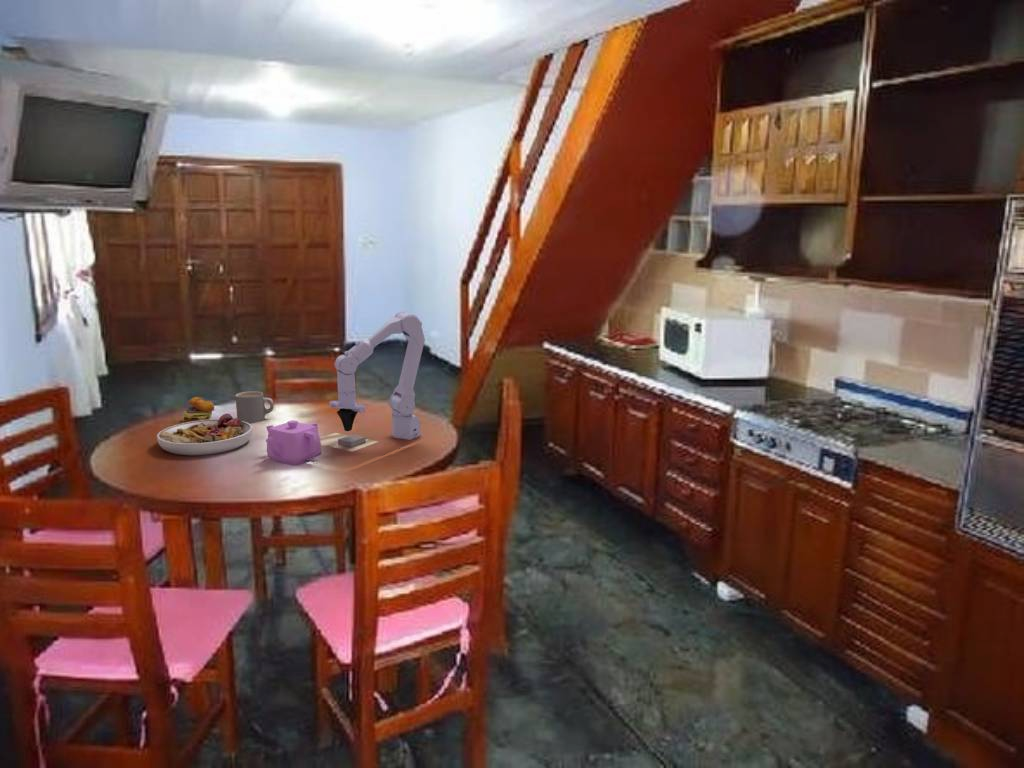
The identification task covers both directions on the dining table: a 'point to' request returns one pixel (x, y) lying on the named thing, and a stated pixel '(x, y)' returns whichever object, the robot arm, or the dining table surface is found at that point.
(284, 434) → the teakettle
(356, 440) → the tile
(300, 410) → the dining table surface
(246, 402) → the coffee mug
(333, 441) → the board
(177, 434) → the bowl
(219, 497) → the dining table surface
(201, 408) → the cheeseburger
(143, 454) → the dining table surface
